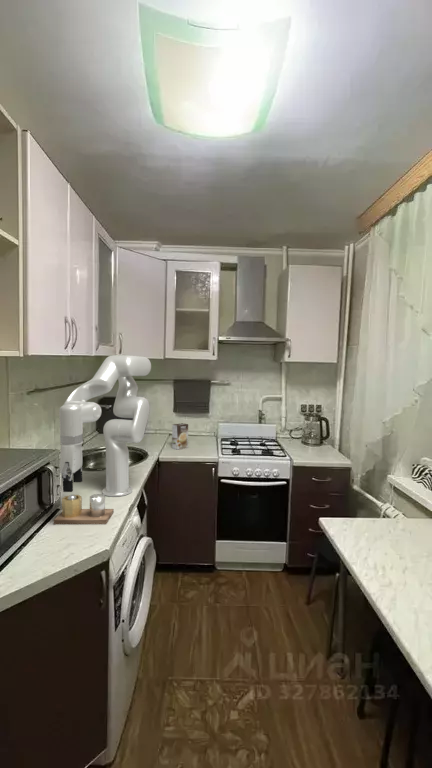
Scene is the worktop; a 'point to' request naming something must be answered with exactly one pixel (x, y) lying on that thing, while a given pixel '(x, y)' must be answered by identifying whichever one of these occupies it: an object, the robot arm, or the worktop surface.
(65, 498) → the brass coupling
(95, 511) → the pair of light bulbs
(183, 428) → the coffee box
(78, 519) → the pipe board
